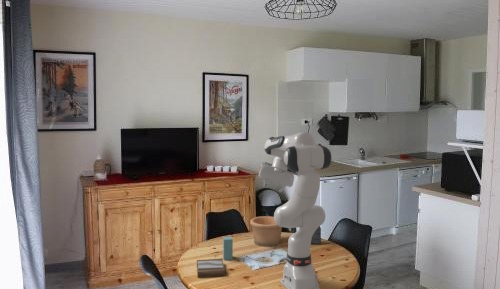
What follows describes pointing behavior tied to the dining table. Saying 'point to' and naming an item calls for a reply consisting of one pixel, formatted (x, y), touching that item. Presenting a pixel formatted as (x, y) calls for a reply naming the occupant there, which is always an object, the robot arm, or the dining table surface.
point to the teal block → (227, 248)
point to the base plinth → (210, 268)
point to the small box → (316, 236)
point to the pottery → (265, 231)
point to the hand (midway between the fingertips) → (272, 189)
